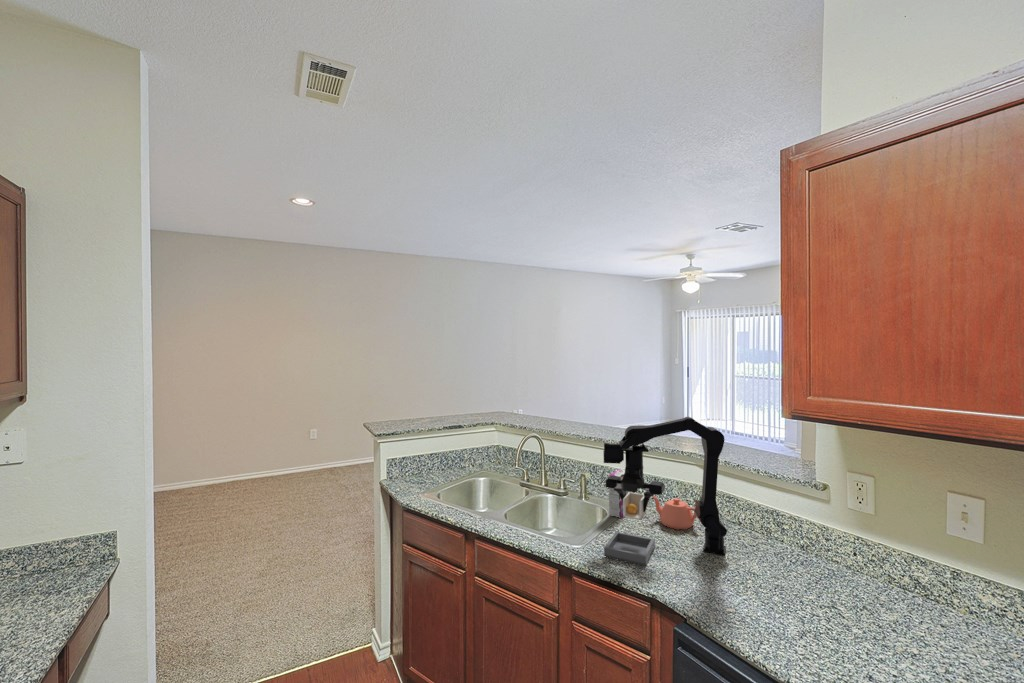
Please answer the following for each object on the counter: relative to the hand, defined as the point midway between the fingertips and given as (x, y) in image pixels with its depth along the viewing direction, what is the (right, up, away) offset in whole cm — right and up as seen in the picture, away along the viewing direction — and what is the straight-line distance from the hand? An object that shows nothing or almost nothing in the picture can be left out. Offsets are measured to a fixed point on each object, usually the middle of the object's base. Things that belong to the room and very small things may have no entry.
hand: (634, 510), depth 150 cm
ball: (-1, +1, -1) cm, 1 cm away
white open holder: (0, -2, 0) cm, 2 cm away
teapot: (+20, -12, +17) cm, 29 cm away
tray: (-3, -11, -6) cm, 13 cm away
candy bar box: (+2, -12, +28) cm, 31 cm away
